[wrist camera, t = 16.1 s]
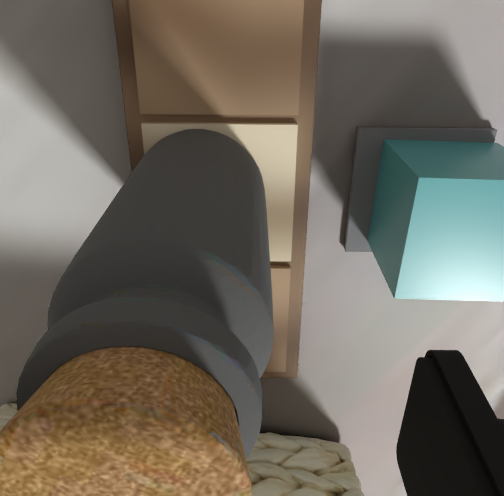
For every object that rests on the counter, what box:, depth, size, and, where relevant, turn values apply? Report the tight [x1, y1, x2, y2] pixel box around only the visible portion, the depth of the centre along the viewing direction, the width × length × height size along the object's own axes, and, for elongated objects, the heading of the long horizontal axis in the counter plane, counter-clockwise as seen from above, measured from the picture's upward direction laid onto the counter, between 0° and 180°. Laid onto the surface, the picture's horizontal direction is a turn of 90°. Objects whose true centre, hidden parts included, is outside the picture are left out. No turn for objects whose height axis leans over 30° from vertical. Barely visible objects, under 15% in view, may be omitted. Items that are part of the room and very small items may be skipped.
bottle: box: [0, 129, 274, 496], centre depth 15 cm, size 6×6×15 cm
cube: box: [368, 139, 504, 301], centre depth 20 cm, size 5×5×5 cm
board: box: [112, 0, 322, 378], centre depth 22 cm, size 22×8×1 cm, turn 0°
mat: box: [344, 127, 497, 252], centre depth 22 cm, size 6×6×1 cm
